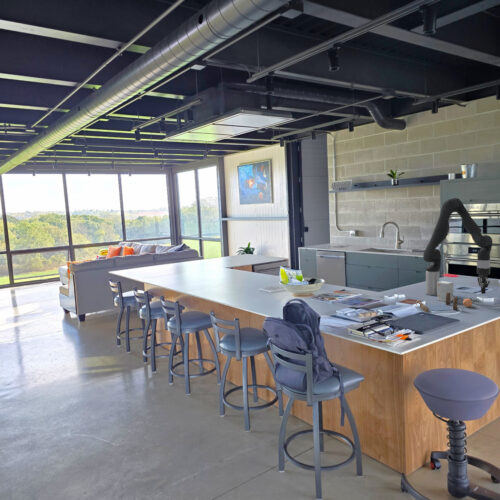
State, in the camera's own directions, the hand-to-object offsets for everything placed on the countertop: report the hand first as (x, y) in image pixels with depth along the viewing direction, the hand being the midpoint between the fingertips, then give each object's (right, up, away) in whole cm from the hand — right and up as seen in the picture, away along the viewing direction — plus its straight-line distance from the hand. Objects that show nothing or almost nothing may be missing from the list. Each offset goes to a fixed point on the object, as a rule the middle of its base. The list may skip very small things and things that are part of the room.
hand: (483, 293), depth 277 cm
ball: (-9, -6, +2) cm, 11 cm away
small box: (-15, -7, +20) cm, 26 cm away
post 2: (-19, -10, -3) cm, 22 cm away
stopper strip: (-37, -10, +5) cm, 39 cm away
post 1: (-18, -9, +9) cm, 22 cm away
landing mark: (-28, -10, +4) cm, 30 cm away
